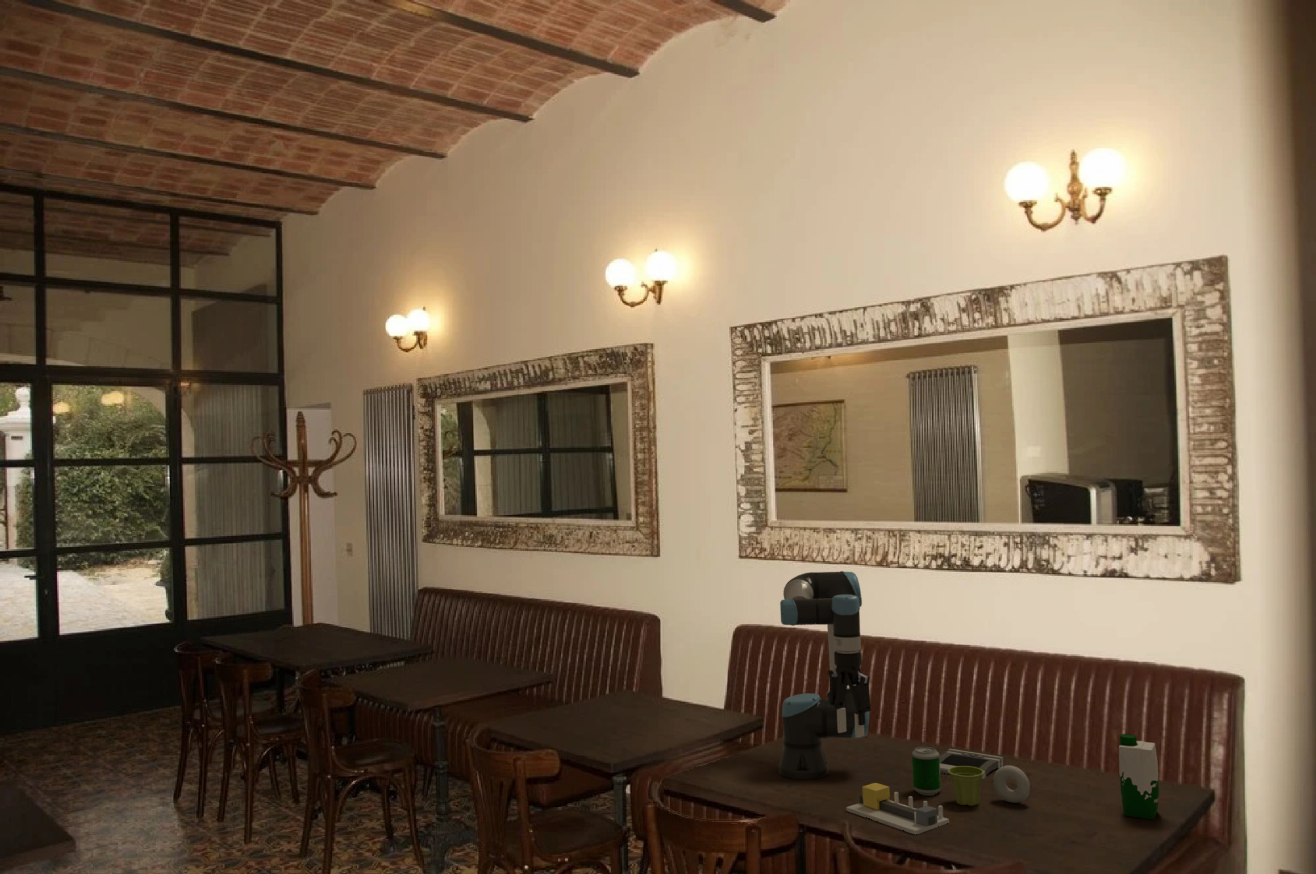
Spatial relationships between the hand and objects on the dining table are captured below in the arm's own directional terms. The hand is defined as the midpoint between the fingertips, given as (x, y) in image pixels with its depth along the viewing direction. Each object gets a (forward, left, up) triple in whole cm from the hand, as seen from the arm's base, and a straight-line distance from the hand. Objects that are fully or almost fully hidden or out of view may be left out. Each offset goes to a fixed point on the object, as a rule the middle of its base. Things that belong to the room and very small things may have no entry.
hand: (850, 734), depth 284 cm
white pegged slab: (+15, 0, -19) cm, 24 cm away
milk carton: (+55, +49, -19) cm, 76 cm away
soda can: (+7, +22, -19) cm, 30 cm away
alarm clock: (0, +48, -20) cm, 52 cm away
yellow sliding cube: (+9, 0, -18) cm, 20 cm away
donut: (+28, +32, -19) cm, 47 cm away
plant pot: (+20, +23, -19) cm, 36 cm away
